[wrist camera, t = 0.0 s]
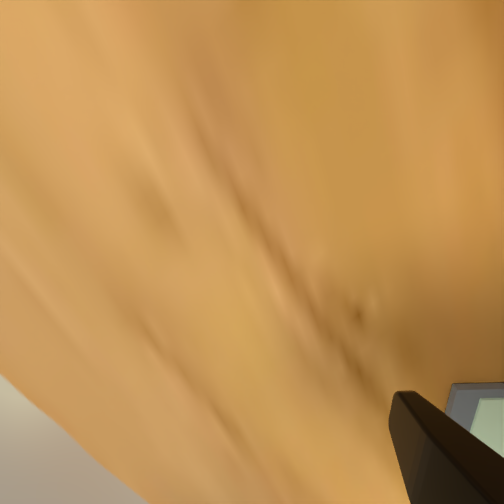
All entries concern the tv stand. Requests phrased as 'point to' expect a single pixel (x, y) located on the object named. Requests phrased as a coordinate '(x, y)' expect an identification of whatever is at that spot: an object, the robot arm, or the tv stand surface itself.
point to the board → (479, 411)
